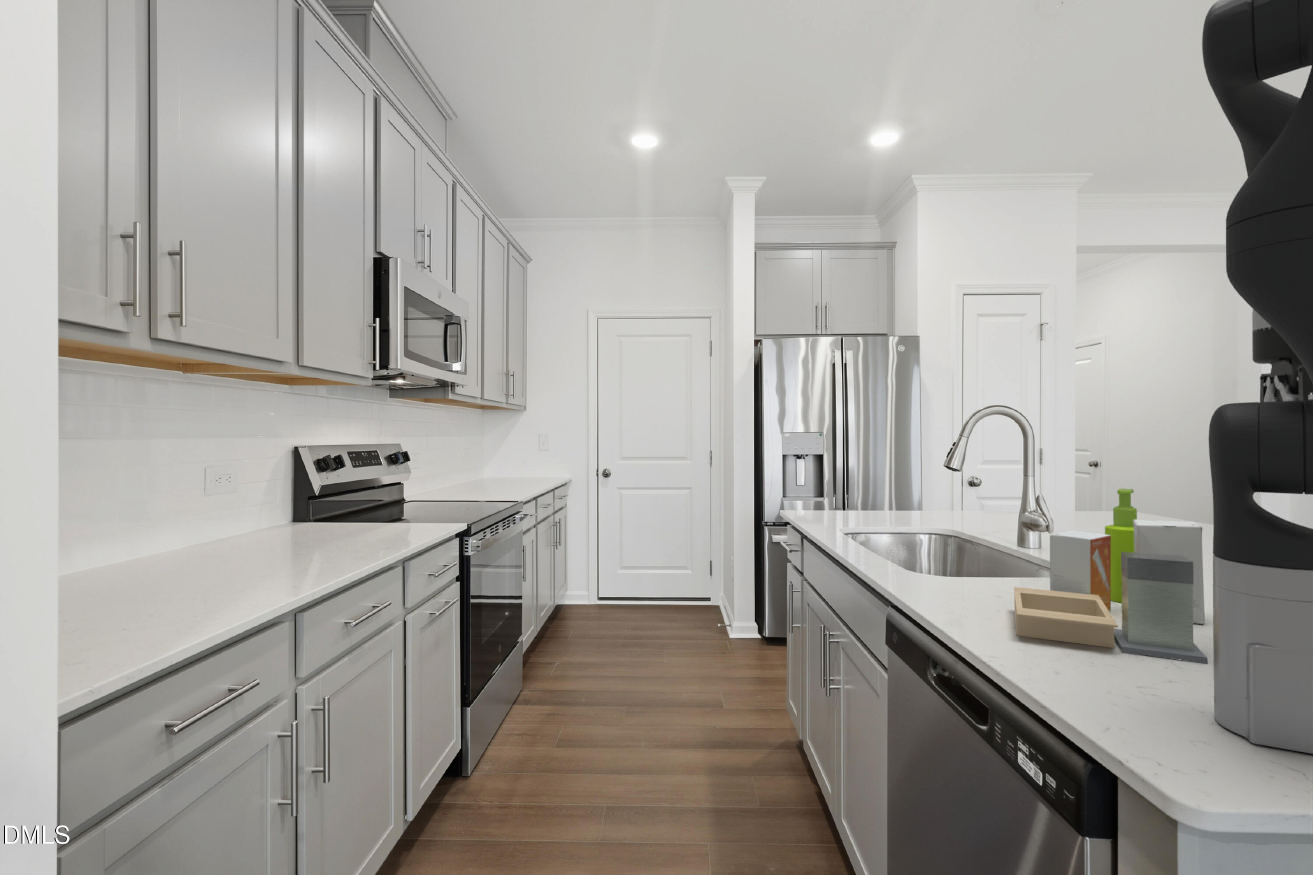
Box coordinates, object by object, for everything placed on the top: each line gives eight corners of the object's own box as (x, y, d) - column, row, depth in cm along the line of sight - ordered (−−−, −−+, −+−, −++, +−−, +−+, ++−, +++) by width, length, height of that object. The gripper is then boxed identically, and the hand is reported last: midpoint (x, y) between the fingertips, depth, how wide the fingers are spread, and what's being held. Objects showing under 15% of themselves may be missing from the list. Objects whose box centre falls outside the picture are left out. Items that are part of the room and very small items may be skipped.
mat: (1207, 663, 79) (1207, 657, 79) (1121, 652, 84) (1121, 646, 84) (1188, 642, 87) (1188, 637, 87) (1110, 633, 92) (1110, 628, 92)
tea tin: (1193, 651, 82) (1193, 561, 82) (1128, 642, 85) (1127, 557, 85) (1184, 640, 86) (1183, 555, 86) (1121, 633, 89) (1121, 551, 89)
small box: (1091, 619, 99) (1090, 539, 99) (1048, 610, 104) (1048, 534, 104) (1112, 610, 103) (1111, 534, 103) (1070, 602, 109) (1070, 529, 109)
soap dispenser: (1148, 598, 111) (1147, 488, 111) (1144, 606, 106) (1144, 491, 106) (1108, 592, 115) (1107, 487, 115) (1103, 600, 110) (1102, 489, 110)
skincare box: (1197, 615, 100) (1196, 521, 100) (1206, 626, 95) (1205, 526, 95) (1133, 608, 105) (1132, 517, 105) (1138, 618, 99) (1137, 522, 99)
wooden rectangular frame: (1118, 654, 83) (1117, 625, 83) (1017, 641, 89) (1017, 613, 89) (1098, 619, 98) (1098, 595, 98) (1014, 610, 104) (1013, 586, 104)
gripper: (1360, 313, 73) (1361, 448, 73) (1307, 330, 85) (1307, 446, 85) (1274, 319, 76) (1275, 448, 76) (1235, 335, 89) (1236, 446, 89)
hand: (1292, 447), depth 81 cm, fingers open, 8 cm apart
